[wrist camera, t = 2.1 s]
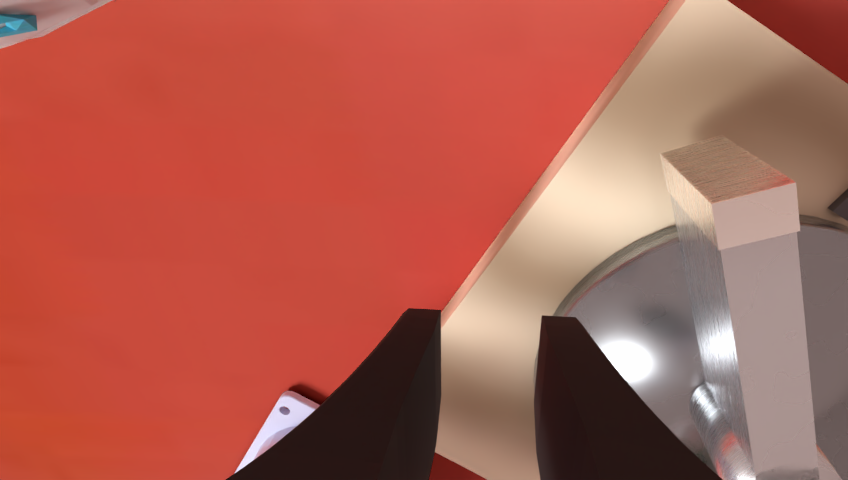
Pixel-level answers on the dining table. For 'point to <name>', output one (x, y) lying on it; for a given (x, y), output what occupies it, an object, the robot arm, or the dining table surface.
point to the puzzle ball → (39, 17)
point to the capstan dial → (732, 319)
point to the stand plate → (627, 204)
